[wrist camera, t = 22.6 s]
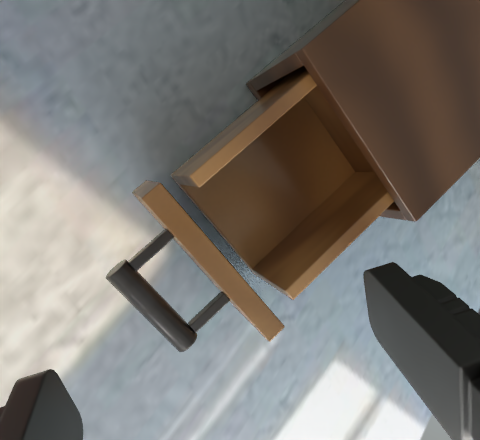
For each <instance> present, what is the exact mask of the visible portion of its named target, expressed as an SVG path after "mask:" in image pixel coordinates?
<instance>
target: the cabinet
mask: <svg viewBox="0 0 480 440" xmlns="http://www.w3.org/2000/svg"><path fill="white" fill-rule="evenodd" d="M302 66H304V67H305V68H306V70H307V71H308V73H309V74H310V76H311V77H312V79H313V80H314V82H315V83H316V85H317V86H318V88H319V89H320V91H321V92H322V94H323V95H324V97H325V98H326V100H327V101H328V103H329V104H330V106H331V107H332V109H333V110H334V112H335V113H336V115H337V116H338V118H339V119H340V121H341V122H342V124H343V125H344V127H345V128H346V130H347V131H348V133H349V134H350V136H351V137H352V139H353V140H354V142H355V143H356V145H357V146H358V148H359V149H360V151H361V152H362V154H363V155H364V157H365V158H366V160H367V161H368V163H369V164H370V166H371V167H372V169H373V170H374V172H375V173H376V175H377V176H378V178H379V179H380V181H381V182H382V184H383V185H384V187H385V188H386V190H387V191H388V193H389V194H390V196H391V197H392V199H393V200H394V202H393V203H392V204H391V205H390V206H389V207H388V208H387V209H386V210H385V211H384V212H383V213H382V214H381V215H380V216H381V217H388V218H394V219H401V220H408V221H414V222H416V221H417V220H418V219H419V218H420V217H421V216H422V215H423V214H424V213H425V212H426V211H427V210H428V209H429V208H430V207H431V206H432V205H433V204H434V203H435V202H436V201H437V200H438V199H439V198H440V197H441V196H442V195H443V194H444V193H445V192H446V191H447V190H448V189H449V188H450V187H451V186H452V185H453V184H454V183H455V182H456V181H457V180H458V179H459V178H460V177H461V176H462V175H463V174H464V173H465V172H466V171H467V170H468V169H469V168H470V167H471V166H472V165H473V164H474V163H475V162H476V161H477V160H478V159H479V158H480V0H345V1H344V2H343V3H342V4H340V5H339V6H338V7H337V8H336V9H334V10H333V11H332V12H331V13H330V14H328V15H327V16H326V17H325V18H324V19H322V20H321V21H320V22H319V23H318V24H317V25H315V26H314V27H313V28H312V29H311V30H309V31H308V32H307V33H306V34H305V35H303V36H302V37H301V38H300V39H299V40H297V41H296V42H295V43H294V44H293V45H291V46H290V47H289V48H288V49H287V50H285V51H284V52H283V53H282V54H281V55H279V56H278V57H277V58H276V59H275V60H273V61H272V62H271V63H270V64H269V65H267V66H266V67H265V68H264V69H263V70H261V71H260V72H259V73H258V74H257V75H255V76H254V77H253V78H252V79H251V80H249V81H248V82H247V83H246V85H247V86H248V88H249V89H250V90H251V92H252V93H253V95H254V96H255V97H256V99H257V100H259V99H261V98H262V97H263V96H264V95H265V94H266V93H268V92H269V91H270V90H271V89H272V88H273V87H275V86H276V85H277V84H278V83H279V82H281V81H282V80H283V79H284V78H285V77H286V76H288V75H289V74H290V73H291V72H293V71H295V70H296V69H298V68H300V67H302Z"/></svg>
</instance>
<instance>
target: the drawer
mask: <svg viewBox="0 0 480 440" xmlns="http://www.w3.org/2000/svg"><path fill="white" fill-rule="evenodd" d="M171 177H172V178H173V179H174V180H175V182H176V183H177V184H178V185H179V186H180V187H181V189H182V190H183V191H184V192H185V193H186V194H187V196H188V197H189V198H190V199H191V200H192V202H193V203H194V204H195V205H196V206H197V207H198V209H199V210H200V211H201V212H202V213H203V215H204V216H205V217H206V218H207V219H208V220H209V222H210V223H211V224H212V225H213V226H214V227H215V229H216V230H217V231H218V232H219V233H220V235H221V236H222V237H223V238H224V239H225V240H226V242H227V243H228V244H229V245H230V246H231V247H232V249H233V250H234V251H235V252H236V253H237V255H238V256H239V257H240V258H241V259H242V260H243V262H244V263H245V264H246V265H247V266H248V267H249V269H250V270H251V271H252V272H253V273H254V274H255V275H256V276H258V277H259V278H261V279H262V280H264V281H265V282H267V283H268V284H270V285H271V286H273V287H274V288H276V289H277V290H279V291H280V292H282V293H283V294H285V295H286V296H288V297H289V298H291V299H292V300H294V299H295V298H296V297H297V296H298V295H299V294H300V293H301V292H302V291H303V290H304V289H305V288H306V287H307V286H308V285H309V284H310V283H311V282H312V281H313V280H314V279H315V278H316V277H317V276H318V275H319V274H320V273H321V272H322V271H323V270H324V269H325V268H327V267H328V266H329V265H330V264H331V263H332V262H333V261H334V260H335V259H336V258H337V257H338V256H339V255H340V254H341V253H342V252H343V251H344V250H345V249H346V248H347V247H348V246H349V245H350V244H351V243H352V242H353V241H354V240H355V239H356V238H357V237H358V236H359V235H360V234H361V233H362V232H363V231H364V230H365V229H366V228H367V227H368V226H369V225H370V224H371V223H372V222H373V221H375V220H376V219H377V218H378V217H379V216H380V215H381V214H382V213H383V212H384V211H385V210H386V209H387V208H388V207H389V206H390V205H391V204H392V203H393V202H394V200H393V199H392V197H391V196H390V194H389V193H388V191H387V190H386V188H385V187H384V185H383V184H382V182H381V181H380V179H379V178H378V176H377V175H376V173H375V172H374V170H373V169H372V167H371V166H370V164H369V163H368V161H367V160H366V158H365V157H364V155H363V154H362V152H361V151H360V149H359V148H358V146H357V145H356V143H355V142H354V140H353V139H352V137H351V136H350V134H349V133H348V131H347V130H346V128H345V127H344V125H343V124H342V122H341V121H340V119H339V118H338V116H337V115H336V113H335V112H334V110H333V109H332V107H331V106H330V104H329V103H328V101H327V100H326V98H325V97H324V95H323V94H322V92H321V91H320V89H319V88H318V86H317V85H316V83H315V82H314V80H313V79H312V77H311V76H310V74H309V73H308V71H307V70H306V68H305V67H304V66H302V67H300V68H298V69H296V70H295V71H293V72H291V73H290V74H289V75H288V76H286V77H285V78H284V79H283V80H282V81H281V82H279V83H278V84H277V85H276V86H275V87H273V88H272V89H271V90H270V91H269V92H268V93H266V94H265V95H264V96H263V97H262V98H261V99H259V100H258V101H257V102H256V103H255V104H253V105H252V106H251V107H250V108H249V109H248V110H246V111H245V112H244V113H243V114H242V115H241V116H239V117H238V118H237V119H236V120H235V121H233V122H232V123H231V124H230V125H229V126H228V127H226V128H225V129H224V130H223V131H222V132H220V133H219V134H218V135H217V136H216V137H215V138H213V139H212V140H211V141H210V142H209V143H208V144H206V145H205V146H204V147H203V148H202V149H200V150H199V151H198V152H197V153H196V154H195V155H193V156H192V157H191V158H190V159H189V160H188V161H186V162H185V163H184V164H183V165H182V166H180V167H179V168H178V169H177V170H176V171H175V172H173V173H172V174H171ZM132 193H133V194H134V195H135V196H136V197H137V199H138V200H139V201H140V202H141V203H142V204H143V205H144V206H145V207H146V209H147V210H148V211H149V212H150V213H151V214H152V215H153V216H154V218H155V219H156V220H157V221H158V222H159V223H160V224H161V225H162V226H163V228H164V229H165V230H163V231H162V232H161V233H160V234H159V235H158V236H157V237H155V238H154V239H153V240H152V241H151V242H150V243H149V244H147V245H146V246H145V247H144V248H143V249H142V250H141V251H139V252H138V253H137V254H136V255H135V256H134V257H133V258H131V259H130V260H129V262H128V261H127V260H123V261H121V262H120V263H118V264H117V265H116V266H115V267H114V268H113V269H112V270H111V271H110V272H109V273H108V274H107V276H106V279H107V280H108V281H109V282H110V283H111V284H112V285H113V286H114V287H115V288H116V289H117V290H118V291H119V292H120V293H121V294H122V295H123V296H124V297H125V298H126V299H127V300H128V301H129V302H130V303H131V304H132V305H133V306H134V307H135V308H136V309H137V310H138V311H139V312H140V313H141V314H142V315H143V316H144V317H145V318H146V319H147V320H148V321H149V322H150V323H151V324H152V325H153V326H154V327H155V328H156V329H157V330H158V331H159V332H160V333H161V334H162V335H163V336H164V337H165V338H166V339H167V340H168V341H169V342H170V343H171V344H172V345H173V346H174V347H175V348H176V349H177V350H178V351H179V352H184V351H186V350H187V349H188V348H190V347H191V346H192V345H193V343H194V342H195V340H196V338H197V333H196V332H197V331H198V330H199V329H201V328H202V327H203V326H204V325H205V324H206V323H207V322H208V321H209V320H210V319H211V318H212V317H213V316H214V315H215V314H216V313H217V312H218V311H220V310H221V309H222V308H223V307H224V306H225V305H226V304H227V303H228V302H229V301H230V302H231V303H232V304H233V306H234V307H235V308H236V309H237V310H238V311H239V312H240V313H241V314H242V315H243V316H244V317H245V318H246V319H247V320H248V321H249V322H250V323H251V324H252V325H253V326H254V327H255V328H256V329H257V330H258V331H259V332H260V333H261V334H262V335H263V336H264V337H265V338H266V339H267V340H268V341H269V342H270V341H271V340H272V339H273V338H274V337H275V336H276V335H277V334H278V333H279V332H280V331H281V330H282V329H283V328H284V325H283V324H282V323H281V321H280V320H279V319H278V318H277V317H276V316H275V315H274V313H273V312H272V311H271V310H270V309H269V308H268V306H267V305H266V304H265V303H264V302H263V301H262V299H261V298H260V297H259V296H258V295H257V294H256V293H255V291H254V290H253V289H252V288H251V287H250V286H249V284H248V283H247V282H246V281H245V280H244V279H243V277H242V276H241V275H240V274H239V273H238V272H237V271H236V269H235V268H234V267H233V266H232V265H231V264H230V262H229V261H228V260H227V259H226V258H225V257H224V255H223V254H222V253H221V252H220V251H219V250H218V249H217V247H216V246H215V245H214V244H213V243H212V242H211V240H210V239H209V238H208V237H207V236H206V235H205V233H204V232H203V231H202V230H201V229H200V228H199V227H198V225H197V224H196V223H195V222H194V221H193V220H192V218H191V217H190V216H189V215H188V214H187V213H186V211H185V210H184V209H183V208H182V207H181V206H180V205H179V203H178V202H177V201H176V200H175V199H174V198H173V196H172V195H171V194H170V193H169V192H168V191H167V189H166V188H165V187H164V186H163V185H162V184H161V183H159V182H153V181H147V180H146V181H145V182H144V183H142V184H141V185H140V186H139V187H138V188H136V189H135V190H134V191H133V192H132ZM172 239H174V240H175V241H176V242H177V243H178V244H179V245H180V246H181V248H182V249H183V250H184V251H185V252H186V253H187V254H188V255H189V257H190V258H191V259H192V260H193V261H194V262H195V263H196V264H197V265H198V267H199V268H200V269H201V270H202V271H203V272H204V273H205V274H206V275H207V277H208V278H209V279H210V280H211V281H212V282H213V283H214V284H215V286H216V287H217V288H218V289H219V290H220V291H221V292H220V293H219V294H218V295H217V296H216V297H215V298H214V299H213V300H212V301H211V302H210V303H209V304H207V305H206V306H205V307H204V308H203V309H202V310H201V311H200V312H199V313H198V314H197V315H196V316H195V317H194V318H193V319H191V320H190V321H189V322H188V324H189V325H188V324H187V323H186V322H185V321H184V319H183V318H182V317H181V316H180V315H179V314H178V313H177V312H176V311H175V310H174V309H173V308H172V307H171V306H170V305H169V304H168V303H167V302H166V301H165V300H164V299H163V298H162V297H161V296H160V295H159V293H158V292H157V291H156V290H155V289H154V288H153V287H152V286H151V285H150V284H149V283H148V282H147V281H146V280H145V279H144V278H143V277H142V276H141V275H140V274H139V273H138V272H137V270H138V269H139V268H141V267H142V266H143V265H144V264H145V263H146V262H147V261H148V260H150V259H151V258H152V257H153V256H154V255H155V254H156V253H158V252H159V251H160V250H161V249H162V248H163V247H164V246H165V245H167V244H168V243H169V242H170V241H171V240H172Z"/></svg>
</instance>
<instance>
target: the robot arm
mask: <svg viewBox="0 0 480 440" xmlns="http://www.w3.org/2000/svg"><path fill="white" fill-rule="evenodd" d="M364 285H365V292H366V300H367V307H368V315H369V320H370V324H371V327H372V330H373V332H374V335H375V337H376V338H377V340H378V342H379V343H380V344H381V346H382V347H383V348H384V350H385V351H386V352H387V354H388V355H389V356H390V358H391V359H392V360H393V362H394V363H395V364H396V366H397V367H398V368H399V370H400V371H401V372H402V374H403V375H404V376H405V378H406V379H407V380H408V382H409V383H410V384H411V386H412V387H413V388H414V390H415V391H416V392H417V394H418V395H419V396H420V398H421V399H422V400H423V402H424V403H425V404H426V406H427V407H428V408H429V410H430V411H431V412H432V414H433V415H434V416H435V418H436V419H437V420H438V422H439V423H440V424H441V426H442V427H443V428H444V430H445V431H446V432H447V434H448V435H449V436H450V438H451V439H452V440H480V315H479V314H478V313H477V312H476V311H474V310H473V309H470V308H469V306H468V305H467V304H466V303H465V302H463V301H462V300H461V299H460V298H457V297H456V295H455V294H454V293H453V292H451V291H450V290H449V289H448V288H447V287H445V286H444V285H443V284H442V283H440V282H438V281H435V280H433V279H430V278H428V277H425V276H423V275H417V276H414V277H411V276H409V275H408V274H407V273H406V272H405V271H404V270H403V269H402V268H401V267H399V266H398V265H397V264H396V263H394V262H391V263H388V264H385V265H382V266H379V267H376V268H372V269H369V270H366V271H365V272H364ZM0 440H83V424H82V419H81V416H80V413H79V411H78V409H77V407H76V406H75V404H74V402H73V400H72V399H71V397H70V395H69V393H68V392H67V390H66V388H65V386H64V385H63V383H62V381H61V379H60V378H59V376H58V374H57V373H56V372H55V371H54V370H52V369H49V370H46V371H43V372H40V373H37V374H34V375H30V376H27V377H24V378H21V379H19V380H17V381H16V383H15V385H14V387H13V389H12V392H11V394H10V396H9V399H8V401H7V403H6V406H4V407H1V408H0Z"/></svg>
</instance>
